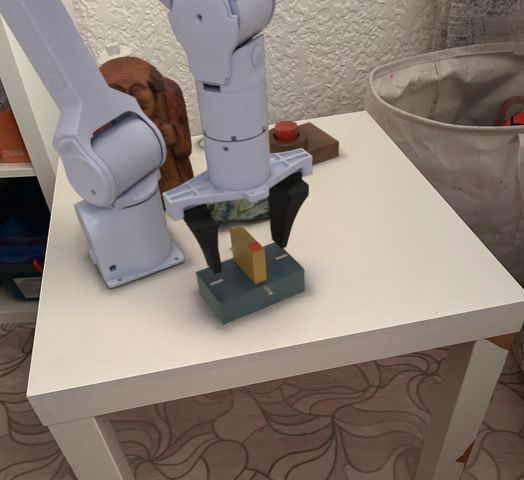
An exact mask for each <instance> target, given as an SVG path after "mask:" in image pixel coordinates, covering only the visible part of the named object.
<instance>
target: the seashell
mask: <svg viewBox="0 0 524 480" xmlns="http://www.w3.org/2000/svg"><path fill="white" fill-rule="evenodd" d="M207 208H208V210H209V211H211V216H212V217H213V218H214V220H215V221H216V222H221V223H227V222H231V221H235V222H237V221H238V222H239V221H243V222H245V221H252V220H259V219H265V218H268V217H269V218H270V210H269V203H268V197H266V198H264V199H261V200H258V201H255V202H250V201H248V200H247V199H246V198H244V199H237V200H229V201H222V202H217V203H214V204H212V205H209V206H207Z"/></svg>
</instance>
